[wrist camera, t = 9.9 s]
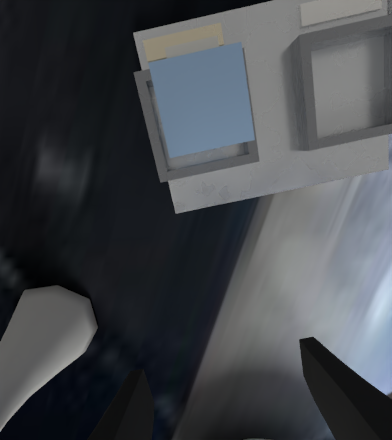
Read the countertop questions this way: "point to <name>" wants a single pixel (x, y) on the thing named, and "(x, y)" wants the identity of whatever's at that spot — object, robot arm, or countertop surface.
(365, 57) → the panel
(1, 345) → the flask
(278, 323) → the countertop surface
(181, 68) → the plug
